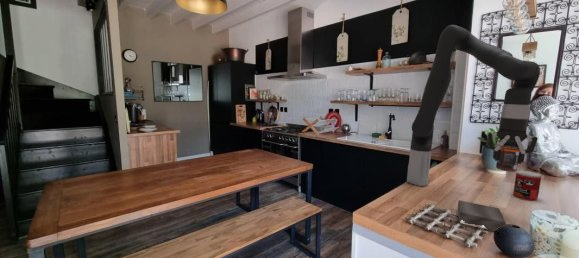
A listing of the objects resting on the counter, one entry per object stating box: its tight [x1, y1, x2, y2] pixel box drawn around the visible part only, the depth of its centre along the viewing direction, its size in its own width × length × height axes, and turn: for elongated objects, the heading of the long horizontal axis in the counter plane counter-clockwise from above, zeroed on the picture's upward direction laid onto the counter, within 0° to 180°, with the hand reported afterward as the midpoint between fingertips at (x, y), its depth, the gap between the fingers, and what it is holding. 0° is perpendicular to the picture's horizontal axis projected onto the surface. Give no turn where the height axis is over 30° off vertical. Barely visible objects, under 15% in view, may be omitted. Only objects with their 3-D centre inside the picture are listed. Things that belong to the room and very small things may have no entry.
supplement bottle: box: [495, 140, 520, 173], centre depth 91 cm, size 6×6×11 cm
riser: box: [457, 200, 507, 233], centre depth 86 cm, size 12×12×4 cm
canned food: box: [513, 170, 542, 201], centre depth 108 cm, size 8×8×11 cm
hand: (507, 161), depth 91 cm, fingers closed on supplement bottle, 6 cm apart
